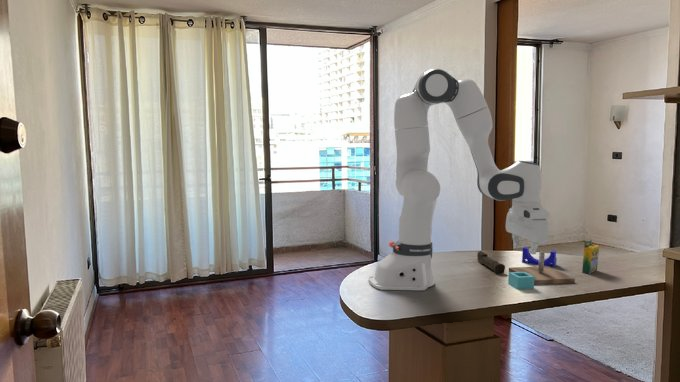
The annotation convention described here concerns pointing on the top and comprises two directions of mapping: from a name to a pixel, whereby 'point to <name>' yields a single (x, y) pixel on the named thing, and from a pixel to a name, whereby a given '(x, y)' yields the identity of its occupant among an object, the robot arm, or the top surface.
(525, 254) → the blue curved cradle
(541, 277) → the post stand
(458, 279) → the top surface
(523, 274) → the collar
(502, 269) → the dark brown rod
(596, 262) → the crayon box
